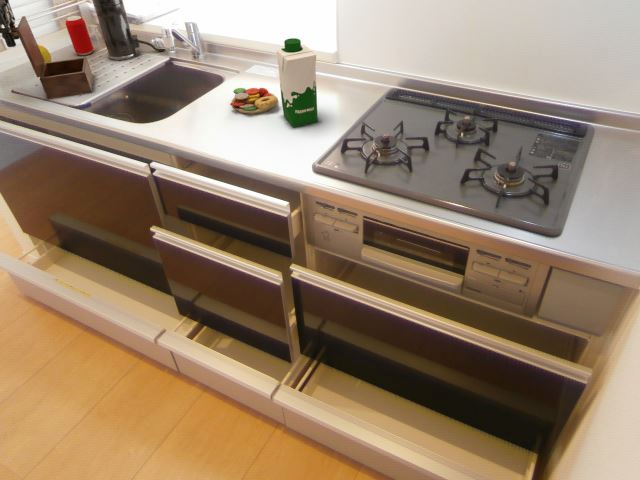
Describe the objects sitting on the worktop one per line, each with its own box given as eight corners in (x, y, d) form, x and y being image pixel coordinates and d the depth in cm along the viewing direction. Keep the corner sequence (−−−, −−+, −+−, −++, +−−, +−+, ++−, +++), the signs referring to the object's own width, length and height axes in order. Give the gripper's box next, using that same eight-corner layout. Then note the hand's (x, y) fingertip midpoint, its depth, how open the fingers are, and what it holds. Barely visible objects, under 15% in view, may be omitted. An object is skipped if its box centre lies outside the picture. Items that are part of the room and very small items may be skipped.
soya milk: (309, 109, 139) (305, 35, 127) (322, 122, 133) (319, 46, 120) (279, 116, 137) (272, 41, 124) (291, 130, 131) (285, 53, 118)
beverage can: (78, 50, 182) (66, 15, 174) (96, 49, 182) (84, 14, 174) (74, 56, 177) (61, 21, 169) (92, 55, 177) (80, 19, 170)
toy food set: (280, 112, 138) (279, 101, 136) (232, 119, 137) (230, 107, 135) (274, 92, 148) (273, 82, 146) (229, 98, 147) (227, 87, 145)
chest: (93, 76, 163) (86, 56, 159) (91, 92, 154) (84, 72, 149) (51, 82, 161) (43, 62, 156) (47, 99, 151) (39, 78, 147)
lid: (25, 16, 147) (3, 19, 146) (18, 29, 138) (-4, 33, 137) (44, 61, 156) (24, 64, 155) (40, 76, 147) (19, 80, 146)
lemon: (50, 71, 167) (41, 47, 162) (34, 72, 168) (24, 47, 162) (57, 65, 172) (48, 41, 166) (41, 65, 172) (32, 41, 167)
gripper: (-1, -17, 130) (24, 49, 141) (7, -29, 140) (31, 33, 151) (-34, -14, 128) (-5, 52, 139) (-22, -27, 139) (3, 36, 150)
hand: (13, 42), depth 145 cm, fingers closed on lid, 6 cm apart
